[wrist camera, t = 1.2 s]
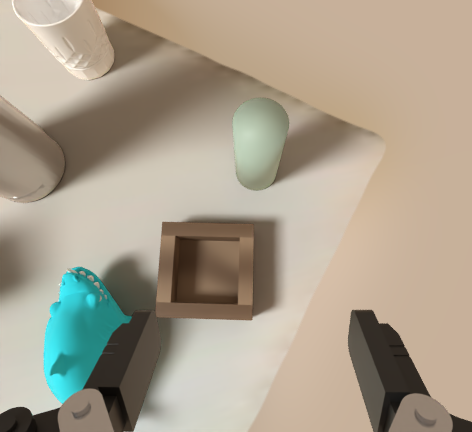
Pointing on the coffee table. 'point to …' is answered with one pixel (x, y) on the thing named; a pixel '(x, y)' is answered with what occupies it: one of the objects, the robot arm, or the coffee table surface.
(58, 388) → the toy shark
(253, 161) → the post
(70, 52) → the white cup
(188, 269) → the socket base
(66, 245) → the coffee table surface
